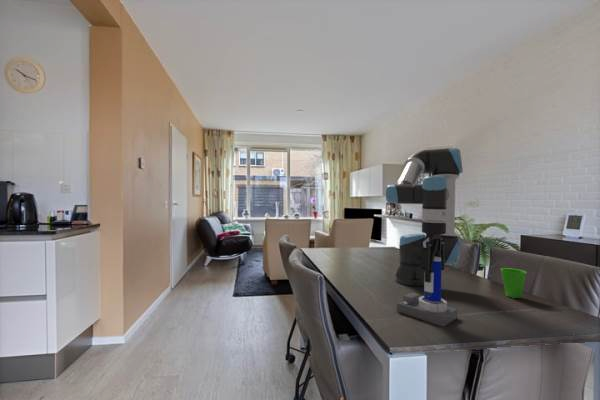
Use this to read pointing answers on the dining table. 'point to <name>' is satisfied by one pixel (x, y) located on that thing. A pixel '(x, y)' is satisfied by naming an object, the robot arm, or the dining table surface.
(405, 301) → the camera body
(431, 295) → the beverage can
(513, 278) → the cup
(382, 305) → the dining table surface
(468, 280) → the dining table surface
